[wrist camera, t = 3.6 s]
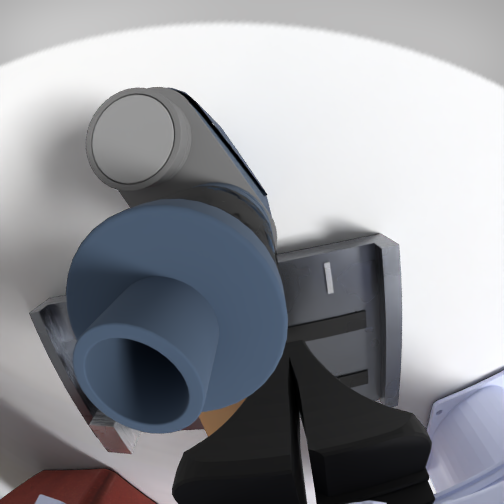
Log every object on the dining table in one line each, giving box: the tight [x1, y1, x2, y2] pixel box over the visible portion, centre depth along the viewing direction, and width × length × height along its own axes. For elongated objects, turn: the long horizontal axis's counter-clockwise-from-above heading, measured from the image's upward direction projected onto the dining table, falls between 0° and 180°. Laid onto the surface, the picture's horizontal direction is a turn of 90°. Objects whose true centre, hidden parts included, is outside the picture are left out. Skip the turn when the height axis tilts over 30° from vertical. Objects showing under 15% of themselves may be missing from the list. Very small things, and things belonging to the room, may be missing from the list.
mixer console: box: [29, 234, 402, 454], centre depth 14 cm, size 9×18×4 cm, turn 102°
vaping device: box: [66, 87, 288, 433], centre depth 8 cm, size 3×5×12 cm, turn 34°
